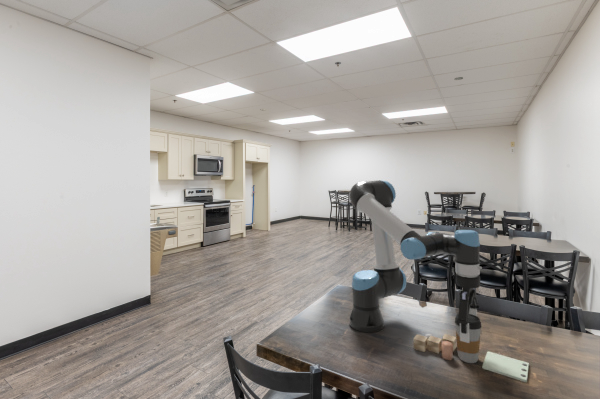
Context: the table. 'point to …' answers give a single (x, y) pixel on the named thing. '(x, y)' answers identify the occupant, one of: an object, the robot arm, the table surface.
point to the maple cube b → (434, 344)
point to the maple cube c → (450, 340)
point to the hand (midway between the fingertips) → (468, 333)
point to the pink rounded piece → (447, 350)
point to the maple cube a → (420, 343)
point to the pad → (506, 366)
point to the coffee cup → (471, 349)
